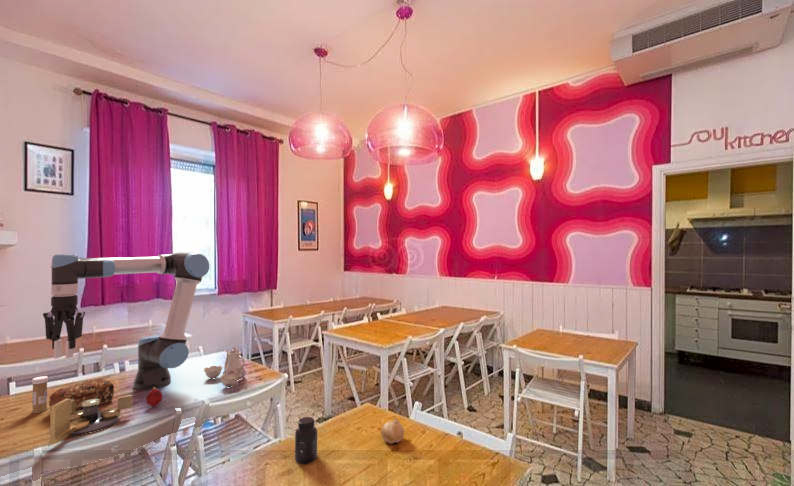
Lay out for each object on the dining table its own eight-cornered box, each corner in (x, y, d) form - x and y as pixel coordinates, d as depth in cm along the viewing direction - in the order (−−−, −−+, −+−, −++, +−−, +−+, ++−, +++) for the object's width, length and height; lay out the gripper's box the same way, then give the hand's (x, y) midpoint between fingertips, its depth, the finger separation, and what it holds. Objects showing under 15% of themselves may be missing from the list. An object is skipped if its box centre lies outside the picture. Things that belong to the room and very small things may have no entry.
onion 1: (165, 405, 158) (165, 386, 158) (151, 410, 153) (151, 391, 153) (156, 402, 161) (156, 384, 161) (142, 408, 156) (143, 388, 156)
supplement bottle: (290, 461, 118) (290, 422, 118) (304, 450, 124) (304, 413, 124) (308, 466, 115) (308, 427, 115) (321, 455, 121) (321, 417, 121)
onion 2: (402, 448, 126) (402, 426, 126) (378, 445, 127) (378, 424, 128) (405, 436, 134) (405, 416, 134) (383, 434, 135) (383, 414, 135)
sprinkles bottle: (46, 411, 152) (46, 378, 152) (30, 414, 149) (30, 380, 149) (48, 407, 155) (48, 374, 155) (33, 410, 153) (33, 377, 153)
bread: (63, 419, 146) (63, 393, 146) (47, 414, 150) (47, 388, 150) (115, 401, 163) (115, 377, 163) (100, 397, 167) (100, 374, 167)
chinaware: (197, 382, 189) (194, 350, 188) (228, 370, 203) (226, 340, 202) (229, 395, 173) (226, 360, 172) (260, 381, 187) (258, 348, 186)
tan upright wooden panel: (75, 423, 138) (76, 390, 138) (93, 422, 139) (93, 389, 139) (42, 444, 124) (43, 406, 124) (62, 443, 124) (62, 406, 124)
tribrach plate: (132, 407, 156) (133, 387, 156) (130, 425, 141) (130, 402, 141) (63, 420, 144) (63, 398, 144) (51, 441, 129) (52, 416, 129)
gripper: (32, 296, 138) (31, 360, 138) (80, 296, 140) (79, 360, 140) (49, 294, 146) (48, 355, 146) (94, 293, 147) (94, 354, 147)
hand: (63, 357), depth 143 cm, fingers open, 3 cm apart
